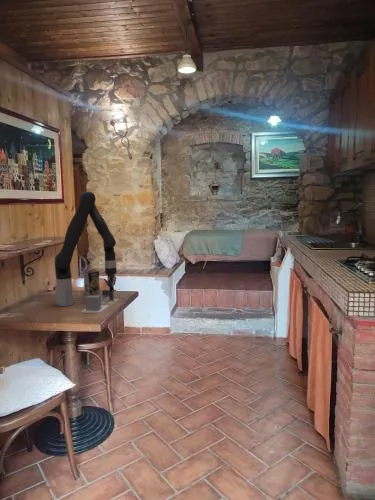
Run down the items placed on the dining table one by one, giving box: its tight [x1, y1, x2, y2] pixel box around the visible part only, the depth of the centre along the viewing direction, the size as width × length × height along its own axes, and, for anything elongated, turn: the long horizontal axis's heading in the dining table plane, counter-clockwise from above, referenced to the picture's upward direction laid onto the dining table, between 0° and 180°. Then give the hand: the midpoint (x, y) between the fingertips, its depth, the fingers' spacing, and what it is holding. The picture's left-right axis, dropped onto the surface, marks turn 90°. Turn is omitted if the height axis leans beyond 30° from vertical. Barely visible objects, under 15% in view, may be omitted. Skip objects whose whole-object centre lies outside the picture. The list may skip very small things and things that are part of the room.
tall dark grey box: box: [101, 289, 115, 304], centre depth 239 cm, size 10×13×6 cm
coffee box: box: [83, 270, 101, 296], centre depth 268 cm, size 9×6×16 cm
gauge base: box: [80, 295, 120, 314], centre depth 234 cm, size 12×31×9 cm, turn 170°
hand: (111, 292), depth 252 cm, fingers closed
